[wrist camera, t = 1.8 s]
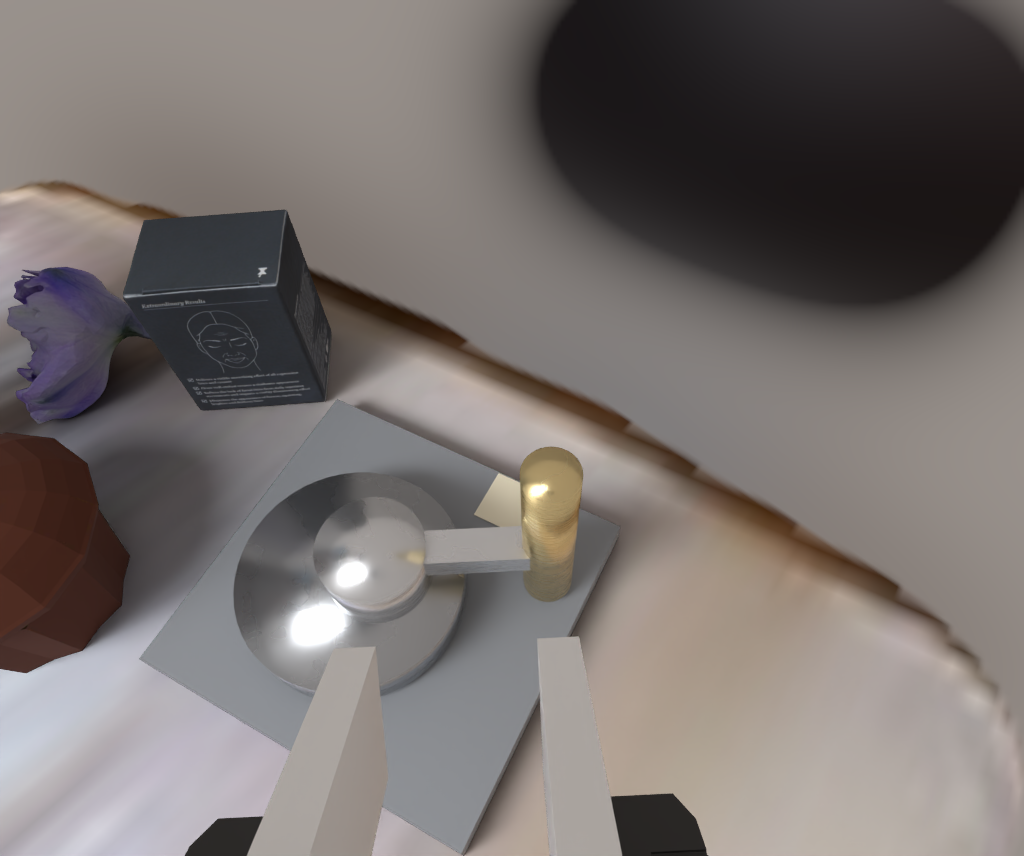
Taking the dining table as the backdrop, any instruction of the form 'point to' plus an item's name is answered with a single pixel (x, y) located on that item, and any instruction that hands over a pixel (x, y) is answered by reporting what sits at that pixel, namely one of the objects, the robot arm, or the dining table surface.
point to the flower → (68, 339)
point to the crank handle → (391, 568)
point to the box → (232, 308)
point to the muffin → (52, 554)
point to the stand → (443, 686)
